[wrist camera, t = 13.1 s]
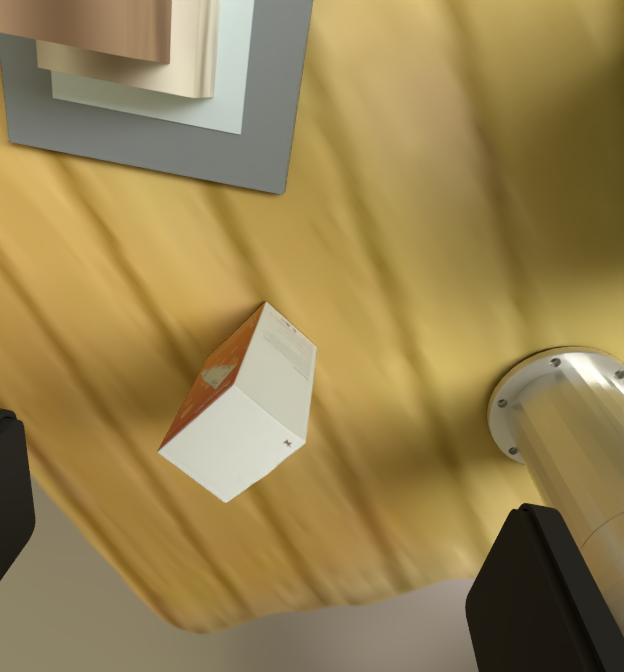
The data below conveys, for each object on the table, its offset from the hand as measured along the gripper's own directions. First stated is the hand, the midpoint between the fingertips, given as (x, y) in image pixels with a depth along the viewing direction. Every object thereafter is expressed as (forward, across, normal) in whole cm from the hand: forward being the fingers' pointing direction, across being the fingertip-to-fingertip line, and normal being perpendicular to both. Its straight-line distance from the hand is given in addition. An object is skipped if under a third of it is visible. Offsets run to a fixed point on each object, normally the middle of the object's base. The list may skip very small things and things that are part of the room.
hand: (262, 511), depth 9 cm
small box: (+31, +3, +14) cm, 34 cm away
